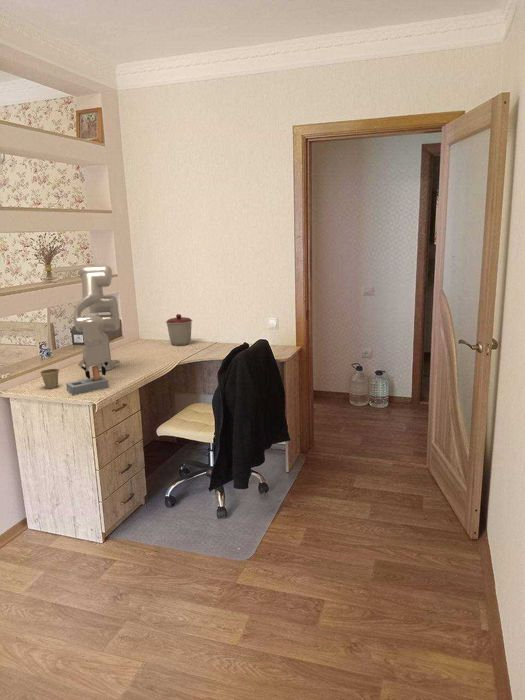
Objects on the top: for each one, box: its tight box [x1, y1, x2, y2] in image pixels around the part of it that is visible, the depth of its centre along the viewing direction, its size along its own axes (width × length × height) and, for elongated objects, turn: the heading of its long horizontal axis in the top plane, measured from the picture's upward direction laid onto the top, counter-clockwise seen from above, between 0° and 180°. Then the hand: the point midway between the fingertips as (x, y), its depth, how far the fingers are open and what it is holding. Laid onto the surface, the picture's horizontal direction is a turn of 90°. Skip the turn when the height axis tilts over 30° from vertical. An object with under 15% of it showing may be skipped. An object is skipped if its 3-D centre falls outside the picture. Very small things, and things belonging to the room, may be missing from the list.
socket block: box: [65, 375, 109, 396], centre depth 271 cm, size 18×10×4 cm, turn 127°
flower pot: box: [39, 368, 60, 389], centre depth 278 cm, size 9×9×9 cm
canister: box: [165, 313, 193, 347], centre depth 364 cm, size 18×18×21 cm
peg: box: [91, 365, 100, 381], centre depth 274 cm, size 3×3×11 cm
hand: (96, 376), depth 273 cm, fingers open, 7 cm apart
